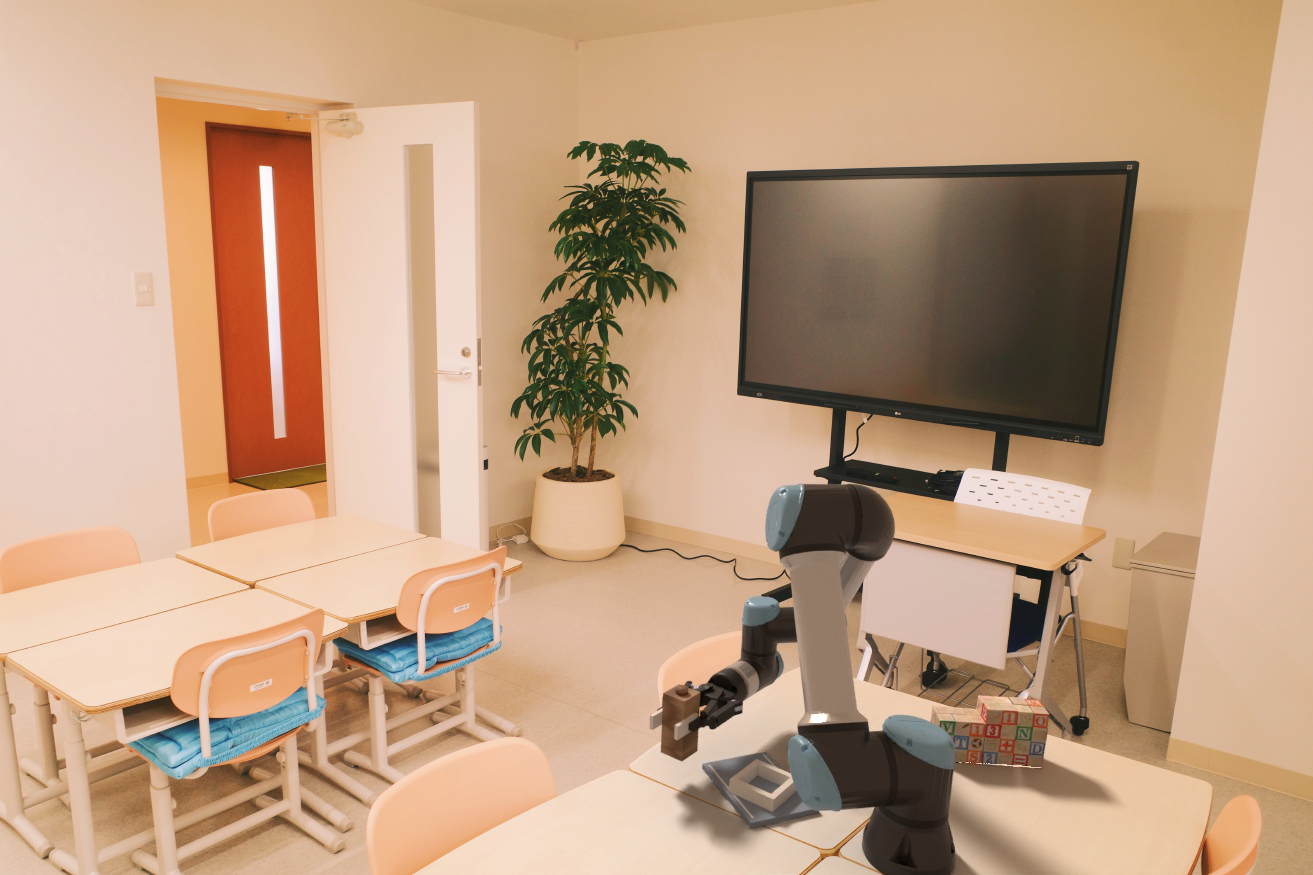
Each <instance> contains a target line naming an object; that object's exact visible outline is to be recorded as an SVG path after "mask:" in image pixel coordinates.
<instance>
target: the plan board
mask: <svg viewBox="0 0 1313 875" xmlns="http://www.w3.org/2000/svg"><path fill="white" fill-rule="evenodd" d="M755 759H758V760H760V761H762V762H765V763H767V764H770V765H772V766H774V767H777V768H779V769H781V770H784V769H783V768H782V767H781V766H780V765H779V764H778V763H777V762H776V761H775V760H774V759H773V757H772V756H770V755H769V753H768V752H767V751H761V752H756V753H751V754H745V755H740V756H735V757H730V758H725V759H724V758H723V759H719V760H714V761H709V762H705V763H704V762H703V763H702V766H701V768H702V770H703V771H704V773H705V774H706V775H707V776H708V777H709V779H710V780H711V781H712V783H713V784H714V785H715V786H716V788H717V789H719V791H720V792H721V793H722V795H723V796H724V797H725V799H726V800H727V801H728V802H729V804H730V805H732V807H733V809H734V810H735V811H736V812H737V813H738V815H739V816H740V818H742V820H743V821H744V822H745V823H746V824H747V826H748V827H749V829H752V828H756V827H757V828H758V827H762V826H766V825H769V824H770V825H772V824H775V823H779V822H783V821H788V820H792V819H797V818H802V817H805V816H810V815H814V814H819V813H820V811H816V810H813V809H811V808H809V807H808V806H807V805H806V804H805V803H804V802H803V801H802V799H801V798H800V796H799V794H798V792H797V791H796V792H795V793H794V794H793V795H791V796H790V797H789V798H788V799H787V800H786V801H785V802H784V803H782V804H781V805H780V806H779V807H778V808H777V809H776V810H775V811H773V812H772V811H769V810H767V809H765V808H763V807H761V806H758V805H756V804H754V803H752V802H750V801H748V800H745V799H743V798H741V797H739V796H737V795H735V794H733V793H730V792H729V780H730V779H731V778H732V777H734V776H735V775H736V774H737V773H739V772H740V771H741V770H743V769H744V768H745V767H746V766H748V765H749V764H750V763H752V762H753V761H754V760H755ZM748 784H750V785H752V786H755V787H757V788H759V789H761V790H764V791H766V792H768V793H771V794H772V793H773V792H774V791H775V790H776V789H778V788H779V787H780V785H778V784H776V783H773V782H771V781H769V780H766V779H764V778H762V777H759V776H756V777H755V778H754V779H753V780H752V781H750V782H749V783H748Z"/></svg>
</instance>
